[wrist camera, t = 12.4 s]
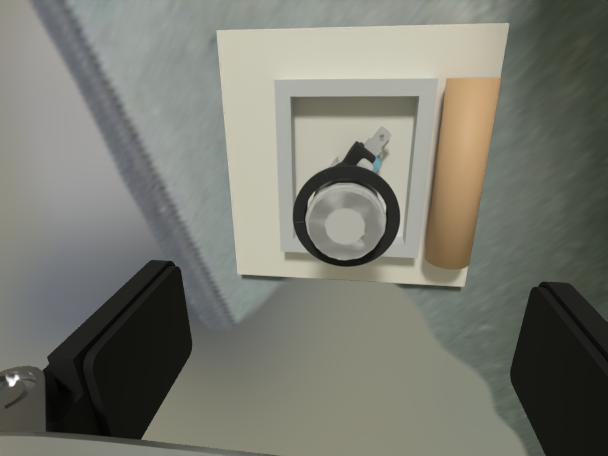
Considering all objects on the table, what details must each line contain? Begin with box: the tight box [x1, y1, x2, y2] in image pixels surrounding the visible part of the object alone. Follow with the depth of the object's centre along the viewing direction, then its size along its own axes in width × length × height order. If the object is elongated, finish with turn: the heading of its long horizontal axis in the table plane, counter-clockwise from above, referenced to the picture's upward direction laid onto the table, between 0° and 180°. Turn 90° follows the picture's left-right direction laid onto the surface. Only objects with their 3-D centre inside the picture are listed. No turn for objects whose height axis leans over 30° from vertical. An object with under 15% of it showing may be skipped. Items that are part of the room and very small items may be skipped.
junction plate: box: [217, 23, 510, 287], centre depth 26 cm, size 18×18×4 cm
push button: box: [293, 126, 400, 267], centre depth 22 cm, size 7×5×10 cm
